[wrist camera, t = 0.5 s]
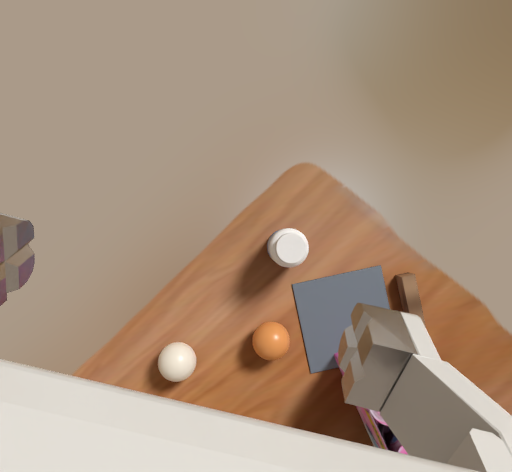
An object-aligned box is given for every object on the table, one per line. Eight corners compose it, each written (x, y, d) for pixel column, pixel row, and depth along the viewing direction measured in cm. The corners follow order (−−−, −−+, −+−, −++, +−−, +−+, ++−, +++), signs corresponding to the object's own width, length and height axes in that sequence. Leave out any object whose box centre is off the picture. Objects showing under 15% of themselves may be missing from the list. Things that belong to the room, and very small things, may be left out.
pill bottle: (308, 249, 60) (321, 252, 51) (281, 271, 60) (289, 278, 51) (286, 221, 60) (294, 219, 50) (259, 243, 60) (262, 245, 50)
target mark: (398, 353, 61) (398, 353, 61) (310, 372, 61) (311, 373, 60) (380, 265, 61) (380, 265, 61) (292, 284, 60) (292, 284, 60)
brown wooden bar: (420, 335, 61) (428, 339, 59) (408, 338, 61) (415, 342, 59) (407, 272, 61) (414, 274, 58) (395, 275, 61) (401, 277, 58)
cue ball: (201, 369, 60) (197, 383, 54) (166, 377, 60) (158, 391, 54) (194, 334, 60) (189, 344, 54) (158, 342, 60) (150, 353, 54)
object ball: (290, 349, 60) (295, 361, 55) (256, 357, 60) (257, 369, 55) (283, 314, 60) (287, 322, 55) (248, 322, 60) (249, 331, 55)
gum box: (438, 470, 62) (494, 537, 48) (393, 491, 61) (435, 565, 48) (377, 332, 61) (415, 360, 47) (331, 353, 61) (356, 388, 47)
